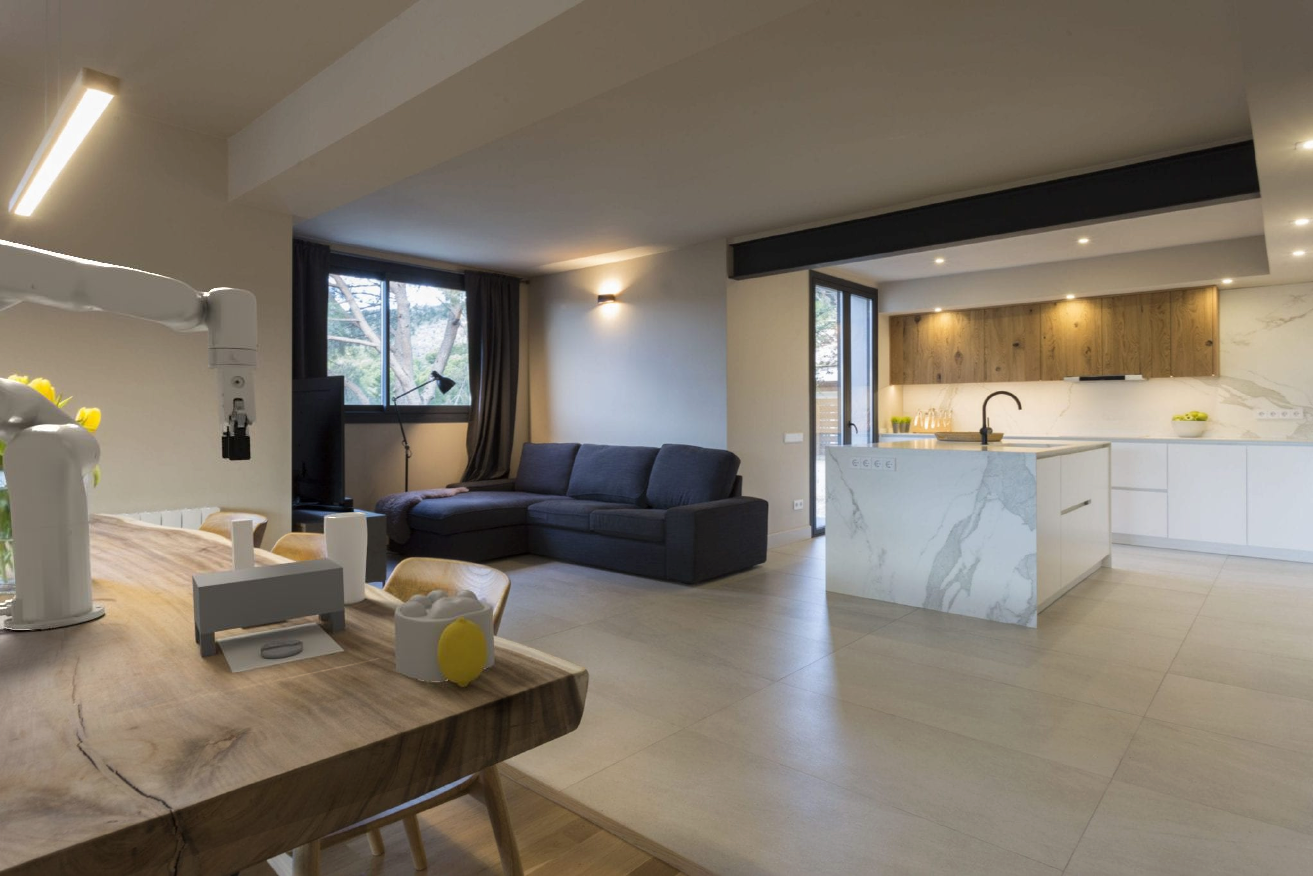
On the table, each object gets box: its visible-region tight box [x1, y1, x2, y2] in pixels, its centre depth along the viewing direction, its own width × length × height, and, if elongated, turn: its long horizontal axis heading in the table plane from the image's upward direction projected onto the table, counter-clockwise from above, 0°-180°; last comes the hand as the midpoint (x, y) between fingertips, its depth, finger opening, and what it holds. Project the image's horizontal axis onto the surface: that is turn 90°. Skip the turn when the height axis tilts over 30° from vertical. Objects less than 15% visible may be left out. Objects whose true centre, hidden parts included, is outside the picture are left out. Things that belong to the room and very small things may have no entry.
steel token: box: [261, 640, 303, 659], centre depth 97 cm, size 5×5×1 cm
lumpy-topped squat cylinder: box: [393, 589, 496, 681], centre depth 92 cm, size 10×13×9 cm
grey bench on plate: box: [192, 557, 346, 658], centre depth 106 cm, size 18×10×10 cm, turn 126°
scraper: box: [230, 517, 286, 629], centre depth 121 cm, size 6×23×14 cm, turn 36°
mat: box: [216, 622, 345, 674], centre depth 101 cm, size 13×18×1 cm
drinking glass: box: [323, 511, 368, 605], centre depth 125 cm, size 7×7×15 cm
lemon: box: [437, 618, 487, 688], centre depth 84 cm, size 6×6×8 cm
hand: (236, 459), depth 128 cm, fingers open, 9 cm apart
